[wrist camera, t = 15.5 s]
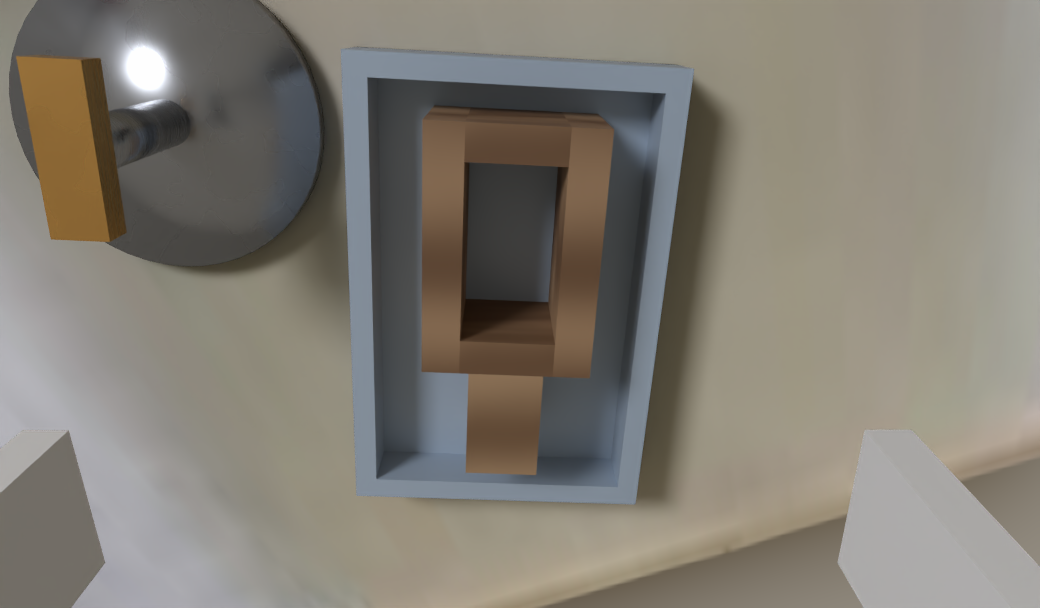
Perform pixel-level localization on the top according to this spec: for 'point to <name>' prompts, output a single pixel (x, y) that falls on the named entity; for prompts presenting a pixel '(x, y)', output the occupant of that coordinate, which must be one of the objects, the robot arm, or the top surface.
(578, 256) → the brown wooden forked piece
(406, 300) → the tray
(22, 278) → the top surface
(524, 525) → the top surface
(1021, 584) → the robot arm
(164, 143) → the lid
